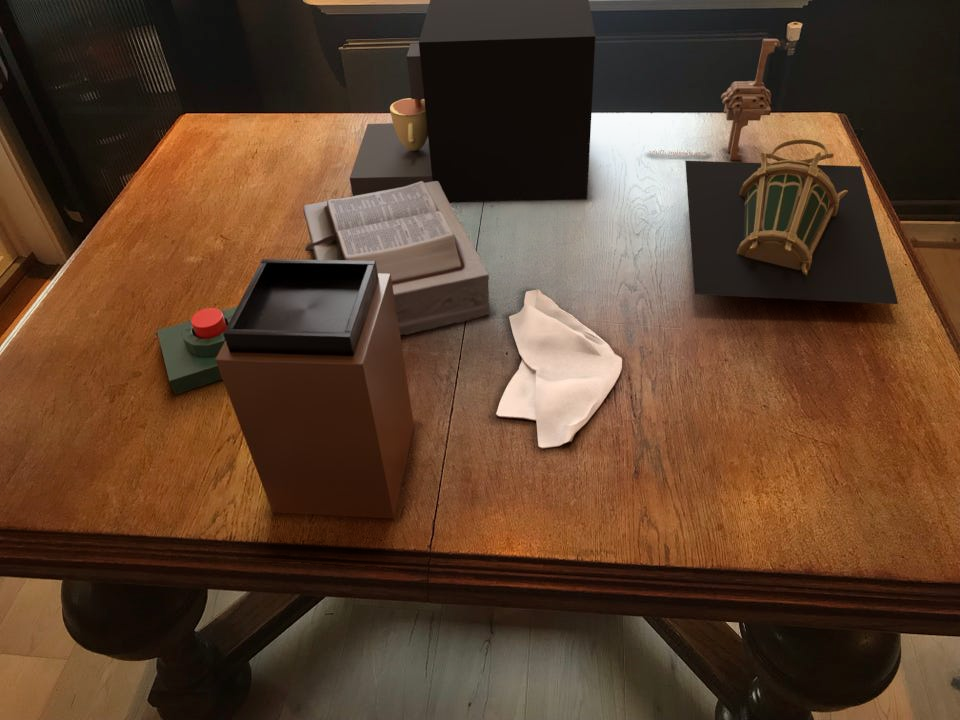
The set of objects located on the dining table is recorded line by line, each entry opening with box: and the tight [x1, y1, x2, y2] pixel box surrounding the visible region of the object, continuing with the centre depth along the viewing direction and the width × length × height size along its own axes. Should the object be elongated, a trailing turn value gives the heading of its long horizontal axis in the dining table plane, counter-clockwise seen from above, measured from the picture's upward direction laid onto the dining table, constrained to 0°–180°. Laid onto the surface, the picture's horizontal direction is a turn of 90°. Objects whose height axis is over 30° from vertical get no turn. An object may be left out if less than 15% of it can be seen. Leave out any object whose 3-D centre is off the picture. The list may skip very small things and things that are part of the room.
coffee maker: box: [349, 0, 596, 203], centre depth 114 cm, size 18×35×24 cm, turn 88°
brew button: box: [190, 307, 226, 339], centre depth 90 cm, size 4×4×2 cm
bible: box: [302, 181, 491, 336], centre depth 99 cm, size 23×27×10 cm
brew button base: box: [156, 305, 238, 395], centre depth 91 cm, size 12×10×4 cm
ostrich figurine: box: [649, 38, 781, 161], centre depth 117 cm, size 17×7×18 cm, turn 84°
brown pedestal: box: [215, 258, 415, 520], centre depth 71 cm, size 12×12×22 cm
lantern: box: [684, 138, 899, 305], centre depth 99 cm, size 14×23×30 cm
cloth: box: [495, 288, 623, 450], centre depth 88 cm, size 26×14×2 cm, turn 172°
